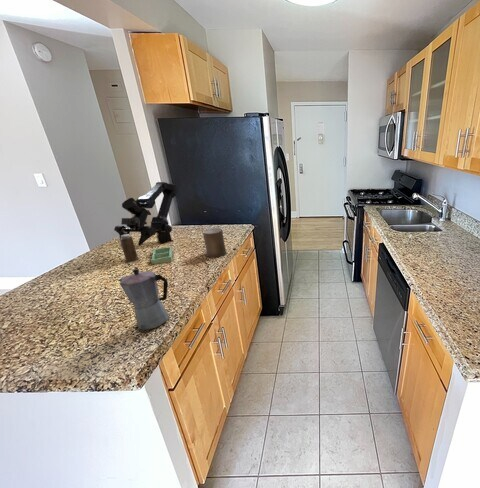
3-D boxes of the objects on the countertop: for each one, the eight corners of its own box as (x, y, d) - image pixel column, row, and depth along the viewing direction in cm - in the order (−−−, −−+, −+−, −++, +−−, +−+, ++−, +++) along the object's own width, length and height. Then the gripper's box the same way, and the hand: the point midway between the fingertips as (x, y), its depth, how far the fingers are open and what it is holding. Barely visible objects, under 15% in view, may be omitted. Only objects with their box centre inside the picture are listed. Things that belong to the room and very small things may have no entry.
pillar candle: (229, 253, 142) (225, 227, 137) (211, 259, 136) (207, 232, 130) (220, 249, 149) (216, 224, 143) (203, 254, 142) (198, 228, 136)
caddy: (155, 254, 142) (153, 249, 141) (172, 251, 146) (171, 246, 145) (152, 265, 129) (151, 260, 128) (171, 262, 133) (170, 256, 132)
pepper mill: (139, 258, 137) (132, 233, 132) (136, 262, 133) (129, 236, 127) (128, 259, 136) (120, 234, 131) (124, 263, 131) (116, 237, 126)
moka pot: (139, 314, 92) (123, 263, 85) (184, 312, 94) (172, 262, 86) (122, 332, 84) (103, 277, 76) (172, 329, 85) (157, 275, 77)
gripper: (111, 210, 132) (99, 238, 126) (146, 211, 131) (137, 239, 125) (127, 221, 142) (117, 247, 136) (160, 221, 141) (152, 247, 135)
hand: (130, 245), depth 133 cm, fingers open, 9 cm apart
